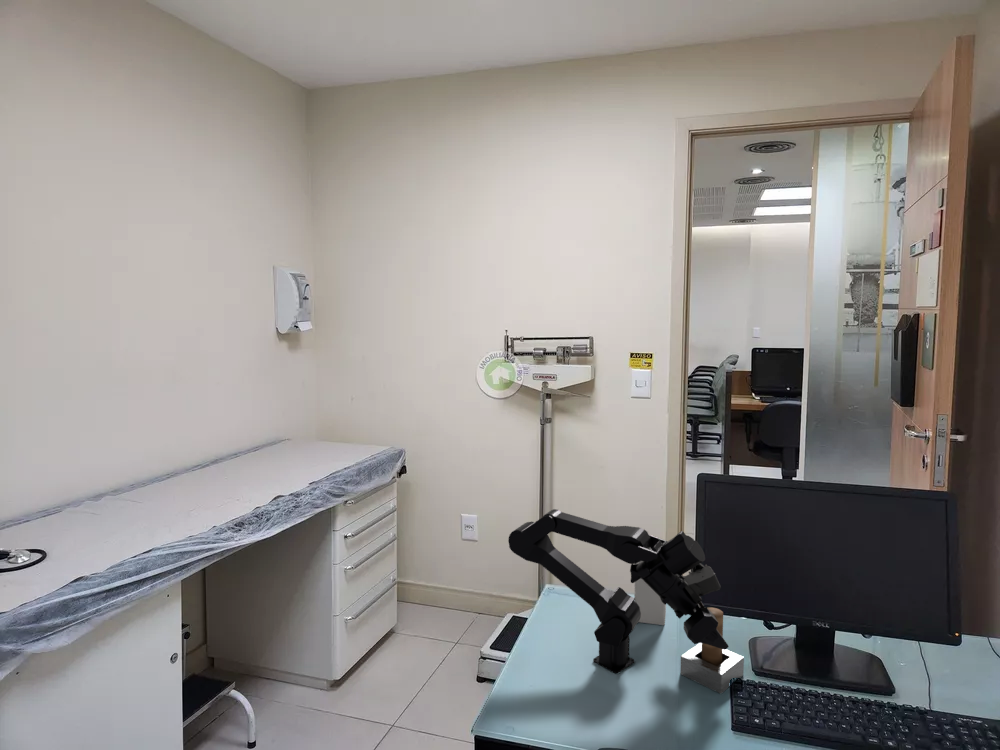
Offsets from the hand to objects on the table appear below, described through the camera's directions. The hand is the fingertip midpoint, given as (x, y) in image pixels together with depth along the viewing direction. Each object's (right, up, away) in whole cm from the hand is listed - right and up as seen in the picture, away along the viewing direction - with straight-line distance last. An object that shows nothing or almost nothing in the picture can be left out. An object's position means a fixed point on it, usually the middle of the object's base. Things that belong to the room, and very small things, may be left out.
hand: (719, 635), depth 128 cm
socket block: (-1, -9, +1) cm, 9 cm away
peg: (-1, -8, +1) cm, 8 cm away
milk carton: (-8, -6, +25) cm, 27 cm away
